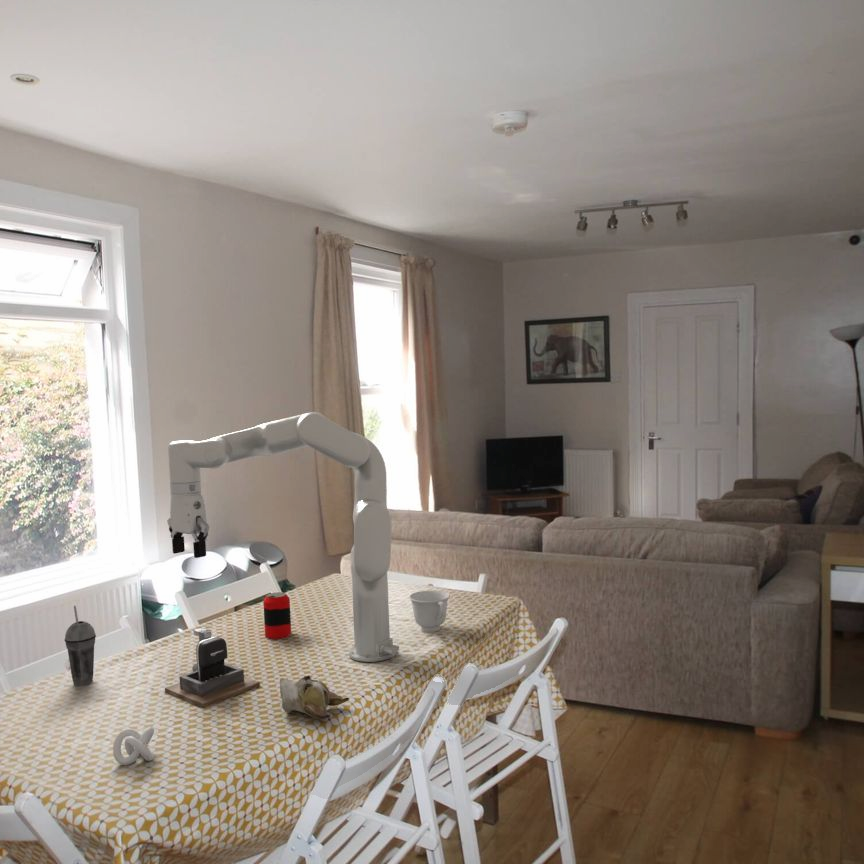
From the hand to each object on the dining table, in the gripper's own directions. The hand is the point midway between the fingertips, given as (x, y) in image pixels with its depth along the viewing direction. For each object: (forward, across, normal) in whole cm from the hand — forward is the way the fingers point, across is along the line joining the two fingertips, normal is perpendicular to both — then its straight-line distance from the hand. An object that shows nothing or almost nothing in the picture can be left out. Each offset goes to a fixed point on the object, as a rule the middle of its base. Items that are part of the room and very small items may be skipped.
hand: (189, 554), depth 204 cm
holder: (+30, -15, +5) cm, 34 cm away
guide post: (+30, -2, -2) cm, 30 cm away
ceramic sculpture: (+31, -45, 0) cm, 55 cm away
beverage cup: (+31, +16, +22) cm, 41 cm away
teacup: (+31, -30, -60) cm, 74 cm away
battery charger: (+30, -16, +5) cm, 34 cm away
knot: (+31, -34, +35) cm, 58 cm away
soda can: (+31, +5, -31) cm, 44 cm away
